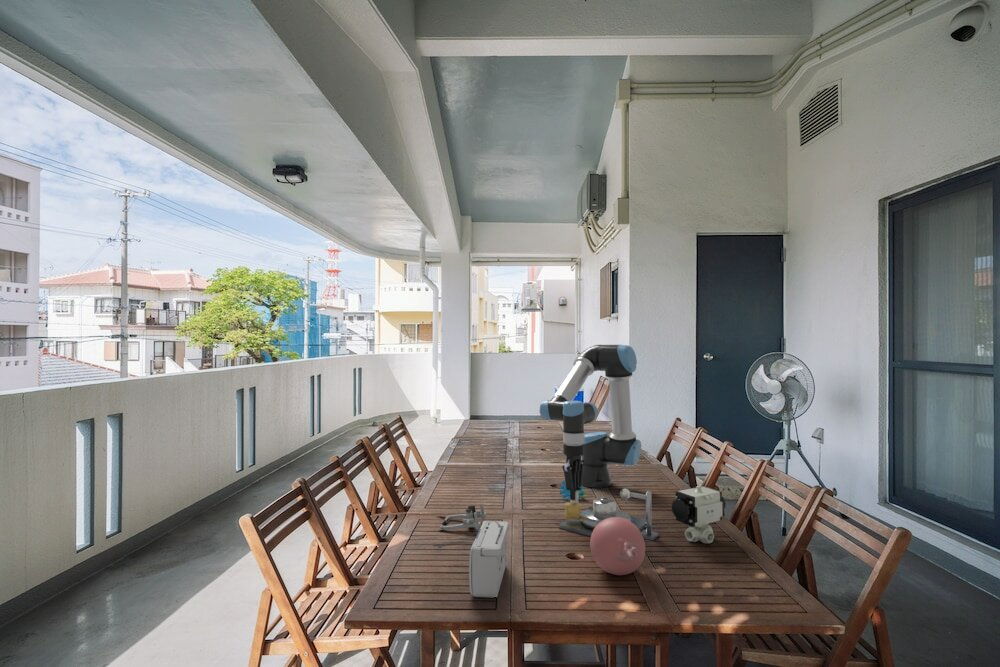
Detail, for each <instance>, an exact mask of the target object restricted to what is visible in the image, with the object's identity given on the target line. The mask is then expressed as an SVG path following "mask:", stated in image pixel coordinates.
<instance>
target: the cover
mask: <svg viewBox="0 0 1000 667" xmlns="http://www.w3.org/2000/svg"><path fill="white" fill-rule="evenodd" d="M592 507H593V516H594V517H595V518H597V519H600V520H604V519H607V518H610V517H616V510H617V502H616V500H613V499H611V498H607V497H600V498H595V499H593V501H592Z"/></svg>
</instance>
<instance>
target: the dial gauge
mask: <svg viewBox="0 0 1000 667" xmlns="http://www.w3.org/2000/svg"><path fill="white" fill-rule="evenodd" d="M619 497H620V498H621V499H622V500H625V502H624V503H625V505H627V504H628V500H629V499H630V498H636V499H641V500H645V519H646V527H645V528H644V529H642V530H641V531H640V532H641V534H642V536H643V538H644V540H645V539H646V540H650V541H655V539H657V538H658V537H659V532H657V531H654V530H653V531H652V491H649V490H647V491H645V494H643V493H639V492H638V493H637V492H632V491H630V490H629V489H628V488H622V489H621V490H620V491H619Z"/></svg>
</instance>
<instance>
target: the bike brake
mask: <svg viewBox="0 0 1000 667" xmlns="http://www.w3.org/2000/svg"><path fill="white" fill-rule="evenodd" d="M479 506H480V510H477V509H476V505H469V506H467V509H465V513H463V514H462V513H461V514H460V513H459V514H451V515H447V516H443V515H442V516H441V515H439V516H436V517H442V518H441V519H444V520H443V522H442V524H441V525H440V526H439V530H440V531H441V529H442V530H443V531H447V530H448V531H449V530H451V531H452V530H459V529H465V528H467V529H468V528H472V529H475V530H476V531H479V530H480V528H481V526H482V523H481V521H479V518H481V519H482V521H486V518H487V512H485V508H484V504H483V503H480V504H479ZM453 519H462V523H459V524H458V523H457V524H453V525H447V524H448V523H449V522H450V520H453Z"/></svg>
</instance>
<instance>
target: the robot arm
mask: <svg viewBox="0 0 1000 667" xmlns="http://www.w3.org/2000/svg"><path fill="white" fill-rule="evenodd" d="M637 361H638V360H637V356H636V352H635V350H634V349H633V347H632V346H631V345H628V344H595V345H592V346H590V347H588V348H586V349H585V350H583V351H581V352H580V353H579V355H578V356H576V358H575V360H574V362H573V366H572V368H571V369H570V371H569V372H568V373H567V375H566V377H565V379H564V380H563V382H562V383H561V384H560V386H559V387H558V389H557V390H556V391H555V393H554V395H553V396H552V398H551V399H550V400H549V399H548V400H542V402H541V403H540V406H539V414H540V418H542V419H544V420H549V421H557V422H563V423H562V425H563V426H562V428H563V429H562V436H563V437H562V438H563V443H564V444H563V445H562V446H563V447H562V448H563V449H562V450H563V455H564V456H566V460H565V465H562V467H561V468H562V470H563V475H564V481H565V485H566V489H567V490H569V491H570V496H569V497H570V501H569V503H579V498H578V490H582V489H581V488H579V487H581V486H583V487H587V488H596V489H597V488H607V487H610V486H611V485H612V476H611V475H610V472H609V468H608V463H609V464H614V465H615V464H616V465H620V466H631V467H632V466H636V465H637V464H638V462H639V459H640V456H641V451H642V443H641V440H640V439H637V435H636V433H635V432H634V431H633V428H632V427H633V425H632V423H633V422H632V406H631V392H630V379H631V377H632V376H633V373H634V372H635V371H636V370H637V363H638V362H637ZM597 371H598V372H599V371H600V372H605V374H604V375H605V376H604V377H606V378H607V379H608V383H609V398H610V399H609V400H610V414H611V415H610V417H611V418H610V419H611V432H610V433H609V434H608V432H605V431H597V432H596V431H595V432H589V433H585V431H584V430H585V425H586V424H590V423H592V422H594V421H595V420H596V419H597V417H598V415H599V410H598V408H597V406H596V405H595V404H594V403H592V402H588V401H585V402H583V401H581V400H574V399H575V398H576V396H577V395H578V393H579V391H580V390H581V388H582V387H583V385H584V384H585V382H586V380H587V379H588V377H589V376H591V375H593V374H594V372H597Z"/></svg>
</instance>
